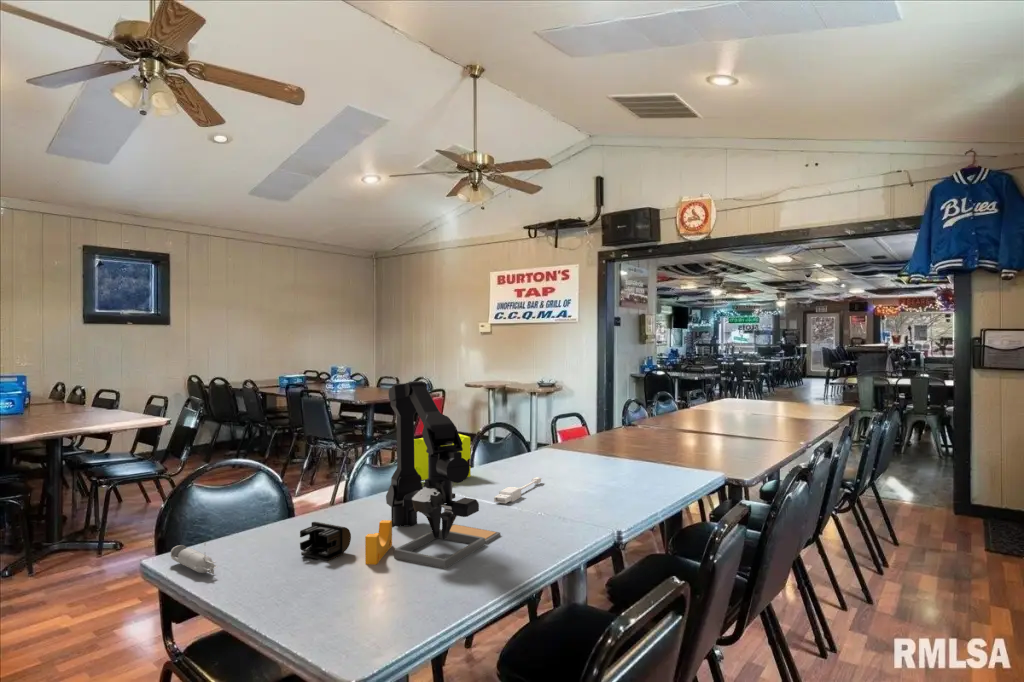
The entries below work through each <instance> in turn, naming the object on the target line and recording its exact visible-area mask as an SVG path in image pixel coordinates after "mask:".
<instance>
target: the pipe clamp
mask: <svg viewBox="0 0 1024 682" xmlns="http://www.w3.org/2000/svg"><path fill="white" fill-rule="evenodd" d="M364 539H365V540H364V545H365V552H364V553H365V558H364V559H365V563H364V564H365V565H378V564H379V563H380V561H381V560H383V559H382V558H383V557H384V556H386V554H387V552H388V551H389V550H390V549H391V548H392V547H393V527H392V520H389V519H388V520H387V519H381V520H380V521H379V525H378V532H374V533H367V534H366V535H365V538H364Z"/></svg>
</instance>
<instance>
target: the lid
mask: <svg viewBox="0 0 1024 682" xmlns="http://www.w3.org/2000/svg"><path fill="white" fill-rule="evenodd" d="M450 531H451V532H457V533H462V534H467V535H473V536H478V537H483V538H485V545H488V544H489V543H491V542H492V541H494V540H496V539H497V538H499V537H500V536H501V532H500V531H494V530H490V529H489V530H488V529H484V528H483V529H482V528H478V527H477V528H476V527H471V526H468V525H461V524H456V523H453V525H452V527H451V529H450Z"/></svg>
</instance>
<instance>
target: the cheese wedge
mask: <svg viewBox="0 0 1024 682" xmlns="http://www.w3.org/2000/svg"><path fill="white" fill-rule="evenodd" d="M458 434H459V436H460V439H461V441H462V443H463V444H462V448H463V451H458V452H461V453H462V458H464V459H465V460H466V461H467V462H468V460H471V459H472V458H471V455H472V454H471V436H468V435H464V434H461V433H458ZM452 445H454V443H453V444H452ZM444 446H447V445H444ZM426 450H427V446H426V444H425V442H424V440H423V437H421V438H414V466H415V469H416V471H417V473H418V474H419V475H420V476H421V481H423V480H424V481H425V479H428V453H427V452H426ZM469 467H470V470H469V474H468V476H467V478H470V477H471V476H472V475H471V473H472V472H471V468H472V467H471V466H470V465H469Z"/></svg>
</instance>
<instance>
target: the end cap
mask: <svg viewBox="0 0 1024 682" xmlns="http://www.w3.org/2000/svg"><path fill="white" fill-rule="evenodd" d="M306 536H309V537H308V539H305V540H303V541H301V542H299V549H300V550H301V552H300V553H301V554H300V555H301V556H302V557H307V558H311V559H315V560H321V561H323V562H324V561H325V562H331V561H333V560H335V559H337V558H339V557H341V556H342V555H344V553H345V552H346V551H347V550H348V548H349V547H350V543H351V541H352V534H351V530H350V529H349V528H347V527H345V526H342V525H341V526H340V525H336V524H335V525H334V524H329V523H325V522H319V521H312V522H311V526H308V527H305V528H304V529H303V528H302V529H301V530H300V532H299V538H304V537H306Z"/></svg>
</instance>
